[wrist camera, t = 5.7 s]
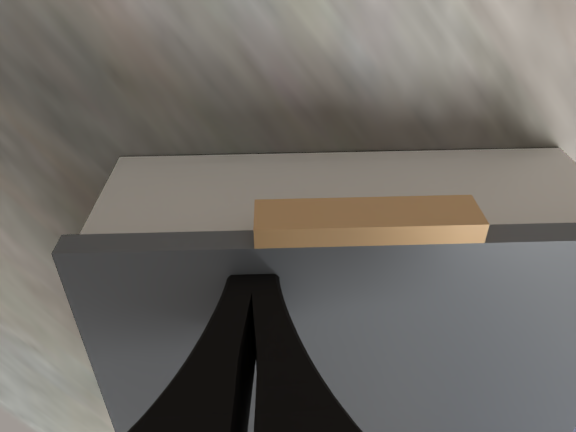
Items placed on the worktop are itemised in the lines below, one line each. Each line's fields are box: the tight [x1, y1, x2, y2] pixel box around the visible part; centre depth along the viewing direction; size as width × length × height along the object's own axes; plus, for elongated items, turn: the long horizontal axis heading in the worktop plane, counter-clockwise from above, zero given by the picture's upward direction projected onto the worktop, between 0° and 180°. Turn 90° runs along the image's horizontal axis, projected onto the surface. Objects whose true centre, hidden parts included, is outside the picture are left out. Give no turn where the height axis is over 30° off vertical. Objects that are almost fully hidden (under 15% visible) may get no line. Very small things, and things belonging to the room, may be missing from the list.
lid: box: [52, 195, 576, 432], centre depth 17 cm, size 13×16×1 cm
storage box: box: [80, 148, 576, 234], centre depth 20 cm, size 12×16×5 cm
